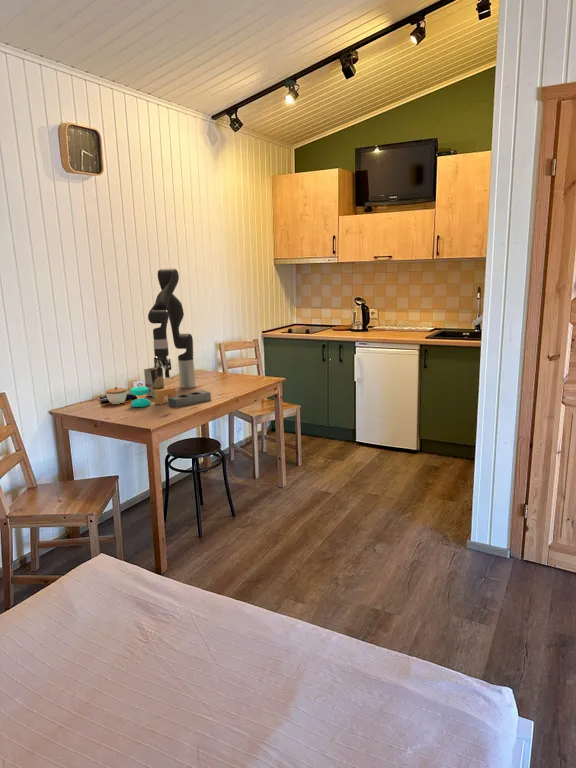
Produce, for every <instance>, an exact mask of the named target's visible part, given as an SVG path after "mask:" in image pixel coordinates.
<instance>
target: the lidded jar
mask: <svg viewBox="0 0 576 768" xmlns="http://www.w3.org/2000/svg"><path fill="white" fill-rule="evenodd" d="M105 393H106V398H107V400H108V401H109V403H110V404H111V405H113V404H119V403H123V404H124V402H126V399H127V388H125V387H117V386H115V387H114V388H108V389H107V390H106V391H105ZM119 405H120V404H119Z"/></svg>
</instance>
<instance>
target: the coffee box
mask: <svg viewBox="0 0 576 768" xmlns="http://www.w3.org/2000/svg"><path fill="white" fill-rule="evenodd" d="M163 371H164V368H163V367H161V372H162V375H161V376H158V375H157V369H156V368H155V367H154V366H153V367H151V368H145V369H143V373H144V383H145V386H144V387H148V388H149V392H148V393H147V394H145V395H146V397H147V396H152V397H151V398H155V394H154V390H159V389H165V383H164V372H163Z"/></svg>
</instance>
